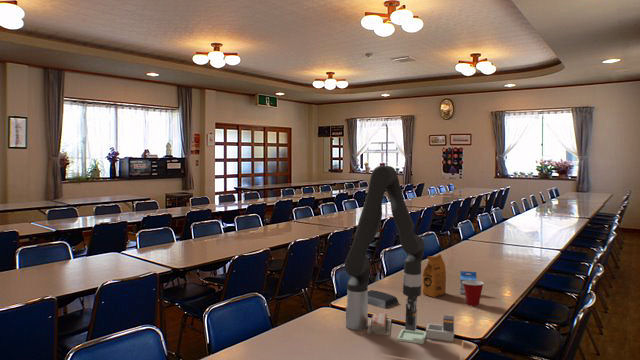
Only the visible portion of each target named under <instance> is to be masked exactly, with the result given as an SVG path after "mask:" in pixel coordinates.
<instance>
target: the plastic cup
mask: <svg viewBox="0 0 640 360" xmlns="http://www.w3.org/2000/svg"><path fill="white" fill-rule="evenodd" d="M462 283H463V285H464V289H465V294H464V295H465V298H466V304H467V305H468V306H470V305H472V306H471V307H478V306H479V304H480V300H481V296H482V291H483V286H484V284H485V283H484V282H483V281H479V280H477V281H472V280H466V281H462ZM477 305H478V306H477Z"/></svg>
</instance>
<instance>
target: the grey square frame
mask: <svg viewBox="0 0 640 360" xmlns="http://www.w3.org/2000/svg"><path fill="white" fill-rule="evenodd" d="M443 315H444V314H443ZM425 332H426V337H425V339H432V340H439V341H447V342H453V341H454V339H455V338H454V337H455V316H454V315H444V316H443V320H442V324H438V323H430V322H428V323H427V326H426V328H425Z"/></svg>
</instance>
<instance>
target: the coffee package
mask: <svg viewBox="0 0 640 360" xmlns="http://www.w3.org/2000/svg"><path fill="white" fill-rule="evenodd" d="M426 259H427V260H428V261H427V264H426V266H425V268H424V270H423V272H422V289H421V293H422V294H423V295H425V296H427V295H428V297H430V296H431V297H430V298H437V296H439V297H442V296H443V295H445V294H446V291H447V289H446V287H447V284H446V283H447V275H446V274H447V273H446V272H447V271H446V264H445V262H444V259H443V257H442V255H441V253H438V254H437V255H436V256H432V255H431V256H429V255H428V256H427V258H426ZM441 295H442V296H441Z"/></svg>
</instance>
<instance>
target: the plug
mask: <svg viewBox="0 0 640 360" xmlns="http://www.w3.org/2000/svg"><path fill="white" fill-rule="evenodd" d="M409 314H411V313H410V312H409ZM413 315H414V316H413V325H412V326H410V325H407V318H408V316H406V315H405V325H404V327H405V328H404V329H405V330H410V331H417V330H416V329H417V324H418V323H417V318H418V317H417V316H418V309H417V308H416V309H415V311H414V312H413Z"/></svg>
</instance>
